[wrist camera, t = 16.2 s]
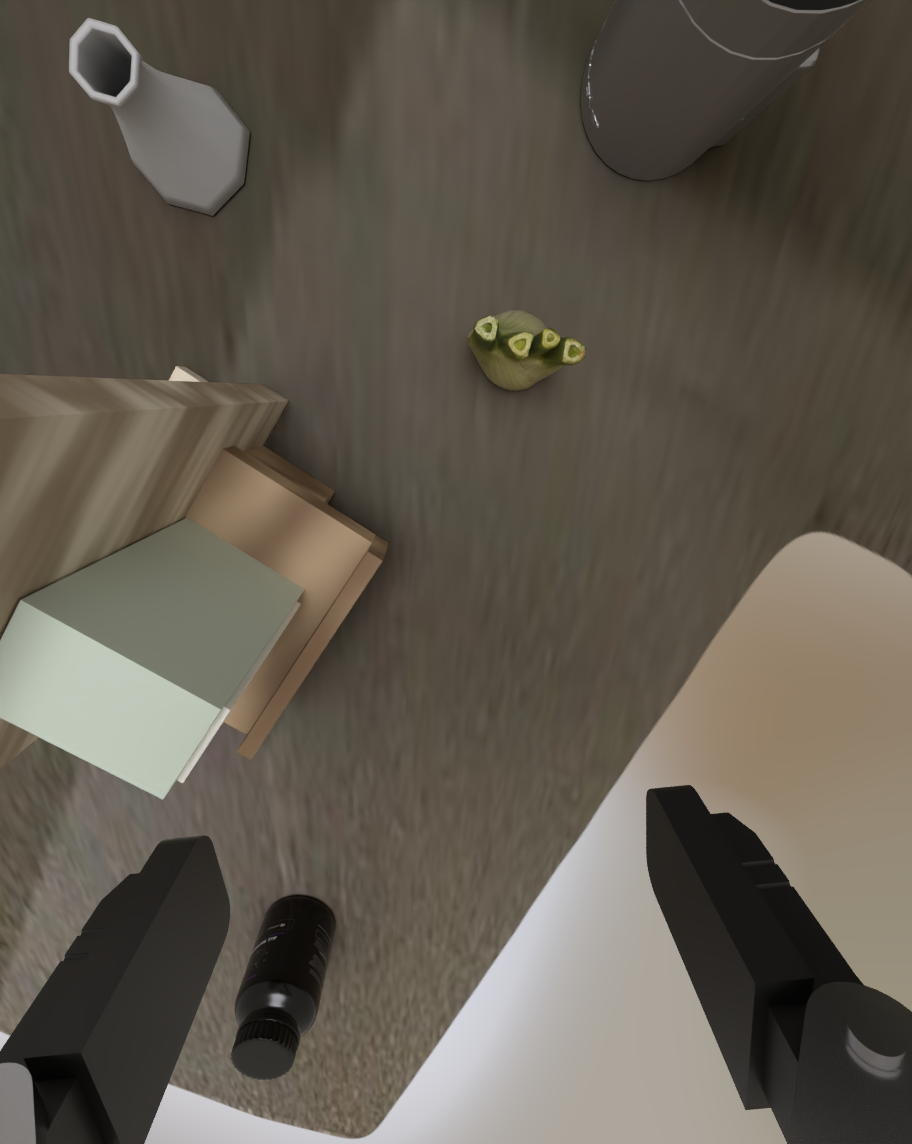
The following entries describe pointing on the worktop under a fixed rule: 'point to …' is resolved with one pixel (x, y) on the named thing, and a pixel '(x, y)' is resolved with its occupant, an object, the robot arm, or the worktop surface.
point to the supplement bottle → (282, 986)
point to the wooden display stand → (171, 506)
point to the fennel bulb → (520, 349)
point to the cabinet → (143, 652)
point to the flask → (164, 120)
